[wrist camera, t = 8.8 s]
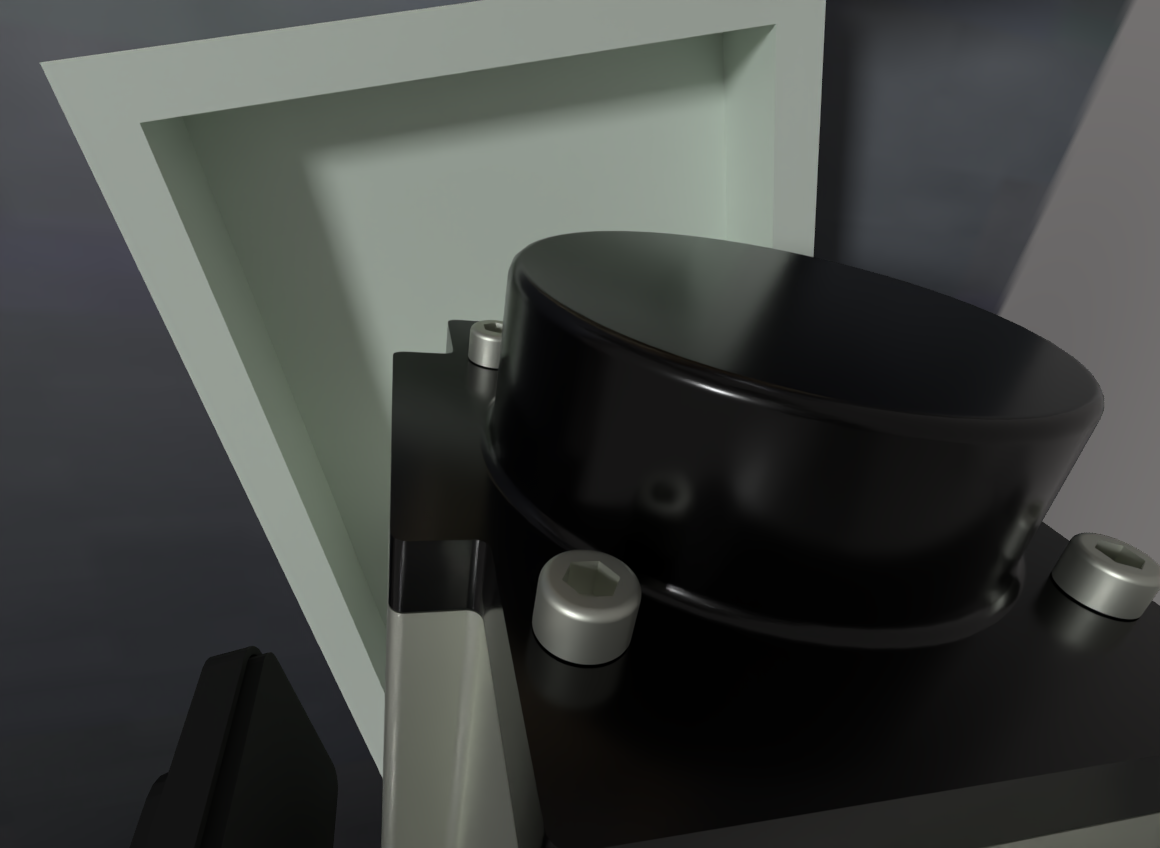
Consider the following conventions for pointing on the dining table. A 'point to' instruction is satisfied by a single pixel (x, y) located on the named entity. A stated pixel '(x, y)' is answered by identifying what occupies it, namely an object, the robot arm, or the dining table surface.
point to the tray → (417, 218)
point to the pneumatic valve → (754, 570)
